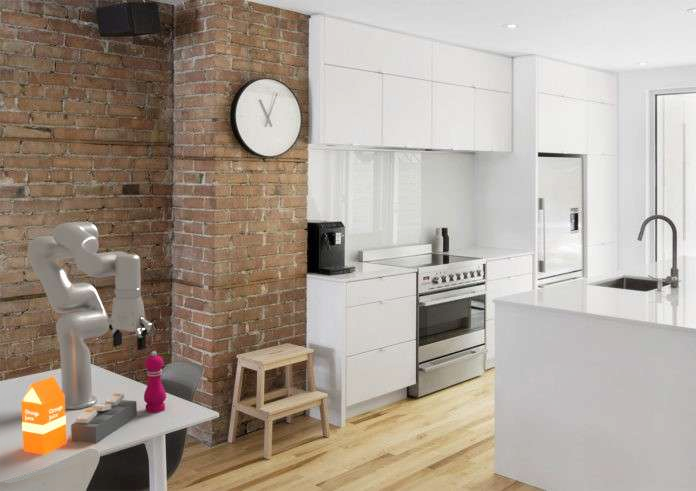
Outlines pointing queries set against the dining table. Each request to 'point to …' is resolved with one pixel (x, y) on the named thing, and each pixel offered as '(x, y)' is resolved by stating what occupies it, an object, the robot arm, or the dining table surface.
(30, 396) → the orange juice
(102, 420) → the power strip
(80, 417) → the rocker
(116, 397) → the plate
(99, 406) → the block
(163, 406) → the pepper mill
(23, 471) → the dining table surface
